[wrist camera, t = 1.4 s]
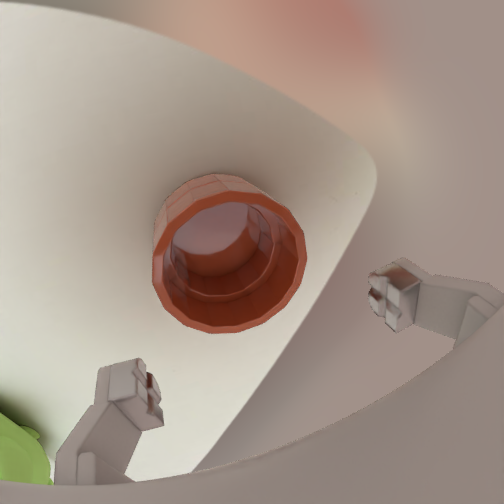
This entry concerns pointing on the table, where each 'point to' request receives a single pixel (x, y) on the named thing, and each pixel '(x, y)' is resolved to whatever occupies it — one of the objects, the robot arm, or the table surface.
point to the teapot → (22, 455)
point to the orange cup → (225, 254)
